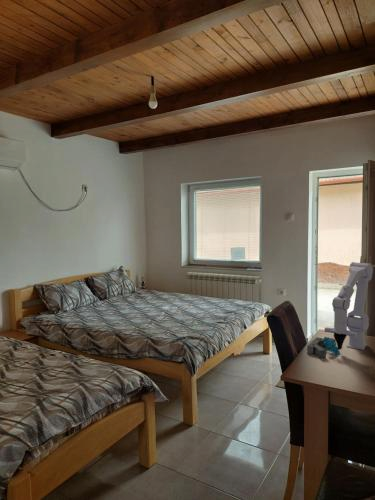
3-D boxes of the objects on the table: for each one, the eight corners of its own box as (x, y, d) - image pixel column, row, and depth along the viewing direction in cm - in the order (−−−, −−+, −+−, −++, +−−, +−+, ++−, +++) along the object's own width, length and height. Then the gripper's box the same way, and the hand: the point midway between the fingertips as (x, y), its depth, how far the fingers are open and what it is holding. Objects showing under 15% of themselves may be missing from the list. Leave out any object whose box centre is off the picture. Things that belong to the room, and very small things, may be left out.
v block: (318, 342, 191) (318, 335, 191) (336, 346, 186) (336, 338, 185) (304, 355, 173) (305, 347, 172) (324, 359, 167) (324, 351, 167)
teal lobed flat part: (335, 354, 169) (322, 336, 174) (326, 361, 172) (313, 343, 177) (344, 352, 177) (331, 334, 182) (335, 358, 180) (322, 341, 185)
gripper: (322, 321, 174) (322, 347, 175) (354, 325, 165) (354, 354, 166) (326, 317, 180) (326, 344, 181) (357, 322, 171) (357, 349, 172)
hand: (339, 348), depth 174 cm, fingers closed
